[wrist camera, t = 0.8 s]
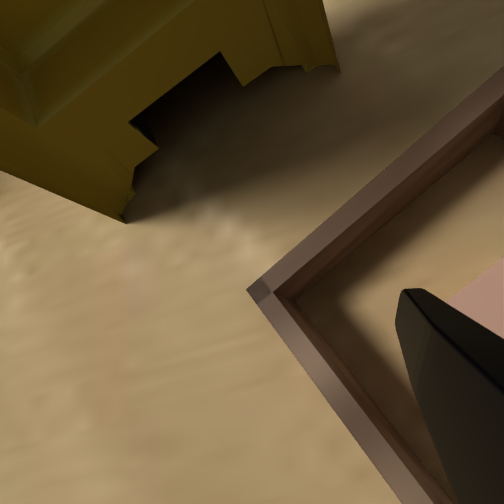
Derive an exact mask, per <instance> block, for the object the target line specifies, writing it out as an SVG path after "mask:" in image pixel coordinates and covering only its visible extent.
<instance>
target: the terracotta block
mask: <svg viewBox="0 0 504 504" xmlns="http://www.w3.org/2000/svg"><path fill="white" fill-rule="evenodd" d="M446 303H447V304H449V305H450V306H452V307H454V308H455V309H457V310H458V311H460V312H462V313H463V314H465V315H466V316H468V317H470V318H471V319H473V320H474V321H476V322H478V323H479V324H481V325H483V326H484V327H486V328H487V329H489V330H491V331H492V332H494V333H495V334H497V335H499V336H500V337H502V338H503V339H504V256H503V257H502V258H501V259H500V260H498V261H497V262H496V263H494V264H493V265H492V266H491V267H489V268H488V269H487V270H485V271H484V272H483V273H482V274H480V275H479V276H478V277H477V278H475V279H474V280H473V281H471V282H470V283H469V284H468V285H466V286H465V287H464V288H463V289H461V290H460V291H459V292H457V293H456V294H455V295H454V296H452V297H451V298H450V299H448V300H447V301H446Z"/></svg>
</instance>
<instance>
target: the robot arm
mask: <svg viewBox="0 0 504 504" xmlns="http://www.w3.org/2000/svg"><path fill="white" fill-rule="evenodd" d="M395 327H396V332H397V335H398V339H399V342H400V346H401V350H402V353H403V357H404V360H405V364H406V368H407V371H408V375H409V379H410V382H411V386H412V389H413V392H414V395H415V398H416V401H417V403H418V406H419V409H420V411H421V413H422V416H423V418H424V421H425V423H426V426H427V428H428V431H429V433H430V436H431V438H432V441H433V443H434V445H435V448H436V450H437V453H438V455H439V458H440V460H441V463H442V465H443V468H444V470H445V473H446V475H447V477H448V480H449V482H450V485H451V487H452V490H453V492H454V495H455V497H456V500H457V502H458V504H504V339H503V338H502V337H500V336H499V335H497V334H495V333H494V332H492V331H491V330H489V329H487V328H486V327H484V326H483V325H481V324H479V323H478V322H476V321H474V320H473V319H471V318H470V317H468V316H466V315H465V314H463V313H462V312H460V311H458V310H457V309H455V308H454V307H452V306H450V305H449V304H447V303H446V302H444V301H442V300H441V299H439V298H438V297H436V296H434V295H433V294H431V293H430V292H428V291H426V290H425V289H422V288H412V289H404V290H402V291H401V293H400V297H399V302H398V307H397V313H396V318H395Z"/></svg>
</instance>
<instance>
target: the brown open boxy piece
mask: <svg viewBox="0 0 504 504" xmlns="http://www.w3.org/2000/svg"><path fill="white" fill-rule="evenodd" d="M494 132H495V133H497V134H498V135H499V136H501V137H502V138H503V139H504V66H503V67H502V68H501V69H500V70H499V71H498V72H497V73H495V74H494V75H493V76H492V77H491V78H490V79H488V80H487V81H486V82H485V83H484V84H483V85H482V86H480V87H479V88H478V89H477V90H476V91H475V92H473V93H472V94H471V95H470V96H469V97H468V98H467V99H465V100H464V101H463V102H462V103H461V104H460V105H458V106H457V107H456V108H455V109H454V110H453V111H452V112H450V113H449V114H448V115H447V116H446V117H445V118H443V119H442V120H441V121H440V122H439V123H438V124H437V125H435V126H434V127H433V128H432V129H431V130H430V131H428V132H427V133H426V134H425V135H424V136H423V137H422V138H420V139H419V140H418V141H417V142H416V143H415V144H413V145H412V146H411V147H410V148H409V149H408V150H406V151H405V152H404V153H403V154H402V155H401V156H400V157H398V158H397V159H396V160H395V161H394V162H393V163H391V164H390V165H389V166H388V167H387V168H386V169H385V170H383V171H382V172H381V173H380V174H379V175H378V176H376V177H375V178H374V179H373V180H372V181H371V182H370V183H368V184H367V185H366V186H365V187H364V188H363V189H361V190H360V191H359V192H358V193H357V194H356V195H355V196H353V197H352V198H351V199H350V200H349V201H348V202H346V203H345V204H344V205H343V206H342V207H341V208H340V209H338V210H337V211H336V212H335V213H334V214H333V215H331V216H330V217H329V218H328V219H327V220H326V221H325V222H323V223H322V224H321V225H320V226H319V227H318V228H316V229H315V230H314V231H313V232H312V233H311V234H310V235H308V236H307V237H306V238H305V239H304V240H303V241H301V242H300V243H299V244H298V245H297V246H296V247H295V248H293V249H292V250H291V251H290V252H289V253H288V254H286V255H285V256H284V257H283V258H282V259H281V260H279V261H278V262H277V263H276V264H275V265H274V266H273V267H271V268H270V269H269V270H268V271H267V272H266V273H264V274H263V275H262V276H261V277H260V278H259V279H258V280H256V281H255V282H254V283H253V284H252V285H251V286H249V287H248V288H247V289H246V290H247V292H248V293H249V294H250V296H251V297H252V299H253V300H254V301H255V303H256V304H257V305H258V307H259V308H260V309H261V311H262V312H263V314H264V315H265V316H266V318H267V319H268V320H269V322H270V323H271V325H272V326H273V327H274V329H275V330H276V331H277V333H278V334H279V336H280V337H281V338H282V340H283V341H284V342H285V344H286V345H287V346H288V348H289V349H290V351H291V352H292V353H293V355H294V356H295V357H296V359H297V360H298V362H299V363H300V364H301V366H302V367H303V368H304V370H305V371H306V373H307V374H308V375H309V377H310V378H311V379H312V381H313V382H314V383H315V385H316V386H317V388H318V389H319V390H320V392H321V393H322V394H323V396H324V397H325V399H326V400H327V401H328V403H329V404H330V405H331V407H332V408H333V410H334V411H335V412H336V414H337V415H338V416H339V418H340V419H341V420H342V422H343V423H344V425H345V426H346V427H347V429H348V430H349V431H350V433H351V434H352V436H353V437H354V438H355V440H356V441H357V442H358V444H359V445H360V447H361V448H362V449H363V451H364V452H365V453H366V455H367V456H368V457H369V459H370V460H371V462H372V463H373V464H374V466H375V467H376V468H377V470H378V471H379V473H380V474H381V475H382V477H383V478H384V479H385V481H386V482H387V484H388V485H389V486H390V488H391V489H392V490H393V492H394V493H395V494H396V496H397V497H398V499H399V500H400V501H401V503H402V504H453V503H452V501H451V500H450V499H449V498H448V496H447V495H446V494H445V492H444V491H443V490H442V489H441V487H440V486H439V485H438V483H437V482H436V481H435V480H434V478H433V477H432V476H431V475H430V473H429V472H428V471H427V469H426V468H425V467H424V466H423V464H422V463H421V462H420V460H419V459H418V458H417V457H416V455H415V454H414V453H413V452H412V450H411V449H410V448H409V446H408V445H407V444H406V443H405V441H404V440H403V439H402V437H401V436H400V435H399V434H398V432H397V431H396V430H395V429H394V427H393V426H392V425H391V423H390V422H389V421H388V420H387V418H386V417H385V416H384V414H383V413H382V412H381V411H380V409H379V408H378V407H377V406H376V404H375V403H374V402H373V400H372V399H371V398H370V397H369V395H368V394H367V393H366V391H365V390H364V389H363V388H362V386H361V385H360V384H359V383H358V381H357V380H356V379H355V377H354V376H353V375H352V374H351V372H350V371H349V370H348V368H347V367H346V366H345V365H344V363H343V362H342V361H341V360H340V358H339V357H338V356H337V354H336V353H335V352H334V351H333V349H332V348H331V347H330V345H329V344H328V343H327V342H326V340H325V339H324V338H323V337H322V335H321V334H320V333H319V331H318V330H317V329H316V328H315V326H314V325H313V324H312V322H311V321H310V320H309V319H308V317H307V316H306V315H305V314H304V312H303V311H302V310H301V308H300V307H299V306H298V305H297V303H296V302H295V301H294V300H296V299H297V298H298V297H299V296H300V295H302V294H303V293H304V292H305V291H306V290H308V289H309V288H310V287H311V286H312V285H314V284H315V283H316V282H317V281H318V280H319V279H321V278H322V277H323V276H324V275H325V274H327V273H328V272H329V271H330V270H331V269H333V268H334V267H335V266H336V265H337V264H338V263H340V262H341V261H342V260H343V259H344V258H346V257H347V256H348V255H349V254H350V253H352V252H353V251H354V250H355V249H356V248H358V247H359V246H360V245H361V244H362V243H363V242H365V241H366V240H367V239H368V238H369V237H371V236H372V235H373V234H374V233H375V232H377V231H378V230H379V229H380V228H381V227H382V226H384V225H385V224H386V223H387V222H388V221H390V220H391V219H392V218H393V217H394V216H396V215H397V214H398V213H399V212H400V211H402V210H403V209H404V208H405V207H406V206H407V205H409V204H410V203H411V202H412V201H413V200H415V199H416V198H417V197H418V196H419V195H421V194H422V193H423V192H424V191H425V190H426V189H428V188H429V187H430V186H431V185H432V184H434V183H435V182H436V181H437V180H438V179H440V178H441V177H442V176H443V175H444V174H446V173H447V172H448V171H449V170H450V169H451V168H453V167H454V166H455V165H456V164H457V163H459V162H460V161H461V160H462V159H463V158H465V157H466V156H467V155H468V154H469V153H470V152H472V151H473V150H474V149H475V148H476V147H478V146H479V145H480V144H481V143H482V142H484V141H485V140H486V139H487V138H488V137H490V136H491V135H492V134H493V133H494Z"/></svg>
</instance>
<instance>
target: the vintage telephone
mask: <svg viewBox="0 0 504 504" xmlns="http://www.w3.org/2000/svg"><path fill="white" fill-rule="evenodd" d="M218 52H221V54H222V55H223V57H224V58H225V60H226V61H227V63H228V64H229V66H230V68H231V69H232V71H233V72H234V74H235V75H236V77H237V78H238V80H239V81H240V83H241V85H242V86H245V85H246V84H248V83H249V82H250V81H252V80H253V79H255V78H256V77H258V76H259V75H260V74H262V73H263V72H265V71H266V70H267V69H269V68H270V67H272V66H292V65H302V67H303V68H304V70H305V71H306V72H308V71H310V70H312V69H314V68H316V67H318V66H320V65H334V66H335V67H336V68H337V69H338V71H339V72H340V68H339V64H338V61H337V57H336V53H335V49H334V45H333V41H332V37H331V33H330V29H329V25H328V21H327V17H326V13H325V9H324V5H323V1H322V0H0V170H1V171H3V172H6V173H8V174H10V175H13V176H15V177H17V178H20V179H22V180H24V181H27V182H29V183H31V184H34V185H36V186H38V187H41V188H43V189H45V190H48V191H50V192H52V193H55V194H57V195H59V196H62V197H64V198H66V199H69V200H71V201H73V202H76V203H78V204H80V205H83V206H85V207H87V208H90V209H92V210H94V211H97V212H99V213H101V214H104V215H106V216H108V217H111V218H113V219H115V220H118V221H120V222H122V223H125V220H124V218H123V212H124V209H125V206H126V204H127V203H128V202H129V201H130V200H131V199H132V198H133V197H134V196H135V195H136V193H135V191H134V188H133V186H132V184H131V183H132V179H133V173H134V168H135V166H137V165H138V164H139V163H141V162H142V161H143V160H145V159H146V158H147V157H148V156H150V155H151V154H152V153H154V152H155V151H156V150H158V149H159V147H158V145H157V142H156V140H155V138H154V136H153V134H152V132H151V129H150V127H149V125H148V123H147V121H146V119H145V116H144V114H143V112H142V111H143V110H144V109H145V108H147V107H148V106H149V105H151V104H152V103H153V102H154V101H156V100H157V99H158V98H160V97H161V96H162V95H164V94H165V93H166V92H167V91H169V90H170V89H171V88H173V87H174V86H175V85H177V84H178V83H179V82H180V81H182V80H183V79H184V78H186V77H187V76H188V75H190V74H191V73H192V72H193V71H195V70H196V69H197V68H199V67H200V66H201V65H203V64H204V63H205V62H207V61H208V60H209V59H210V58H212V57H213V56H214V55H216V54H217V53H218ZM340 73H341V72H340ZM125 224H126V223H125Z"/></svg>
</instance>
